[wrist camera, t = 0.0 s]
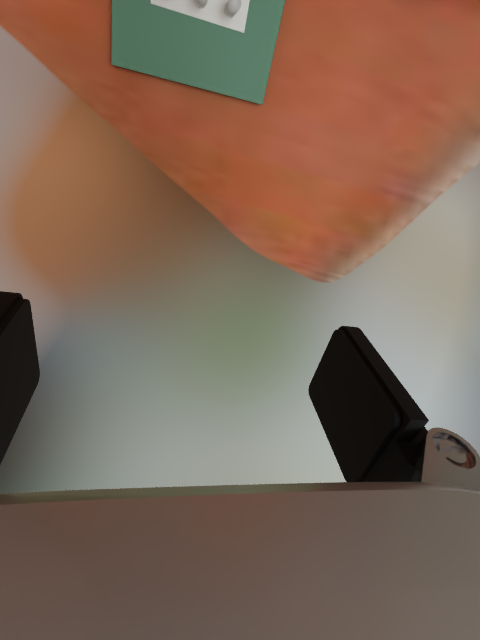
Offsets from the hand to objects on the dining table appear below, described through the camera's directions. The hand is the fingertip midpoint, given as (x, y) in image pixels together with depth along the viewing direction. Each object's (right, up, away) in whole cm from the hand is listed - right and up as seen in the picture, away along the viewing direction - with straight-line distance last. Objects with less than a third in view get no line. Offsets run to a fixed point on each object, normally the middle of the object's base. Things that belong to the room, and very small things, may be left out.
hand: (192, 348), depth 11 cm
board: (-2, +29, +18) cm, 34 cm away
